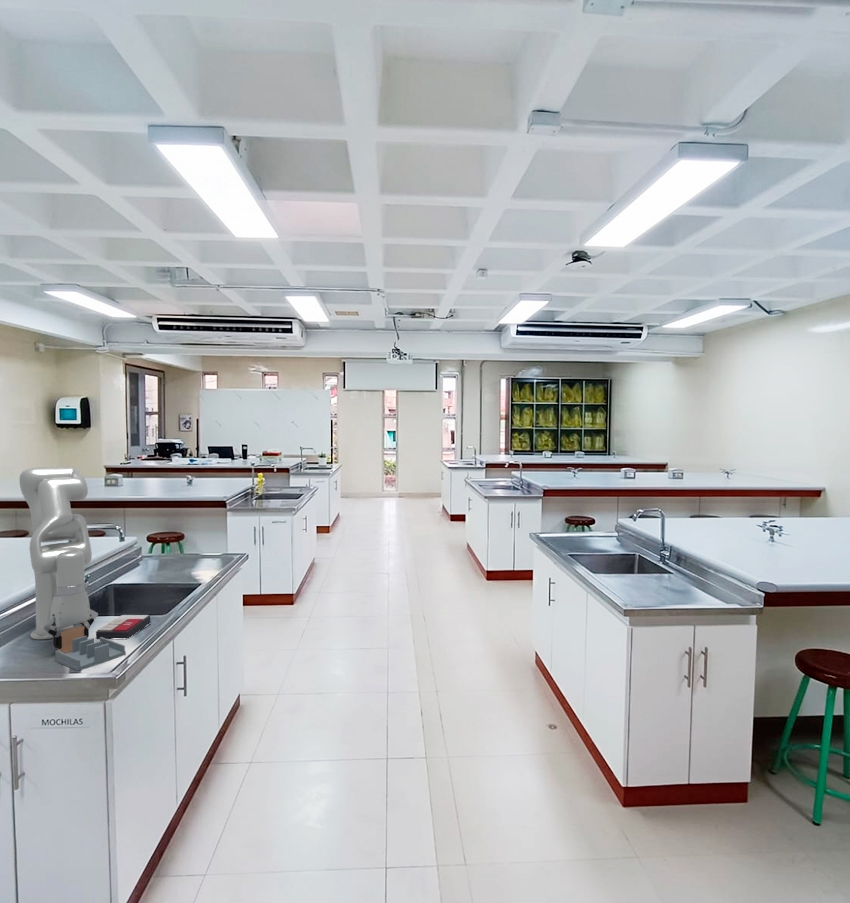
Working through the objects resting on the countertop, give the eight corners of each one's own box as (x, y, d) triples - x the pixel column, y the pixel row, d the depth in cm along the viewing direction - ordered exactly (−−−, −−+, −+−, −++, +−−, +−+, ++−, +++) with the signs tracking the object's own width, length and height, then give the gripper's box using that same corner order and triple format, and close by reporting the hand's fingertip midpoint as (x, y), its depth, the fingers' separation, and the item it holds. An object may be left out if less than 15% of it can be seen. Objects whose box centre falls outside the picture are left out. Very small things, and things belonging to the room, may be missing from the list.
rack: (54, 660, 160) (54, 644, 160) (102, 645, 172) (102, 630, 172) (77, 671, 153) (77, 654, 152) (125, 654, 164) (125, 638, 164)
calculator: (95, 629, 178) (121, 613, 192) (95, 642, 178) (121, 624, 193) (126, 629, 177) (150, 613, 192) (127, 642, 178) (151, 624, 193)
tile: (57, 653, 166) (57, 631, 166) (81, 645, 172) (81, 624, 172) (60, 654, 165) (60, 632, 165) (84, 647, 171) (84, 625, 171)
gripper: (93, 582, 177) (93, 633, 178) (34, 594, 163) (35, 651, 163) (104, 585, 174) (105, 637, 174) (45, 598, 159) (46, 655, 159)
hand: (71, 643), depth 168 cm, fingers closed on tile, 7 cm apart
